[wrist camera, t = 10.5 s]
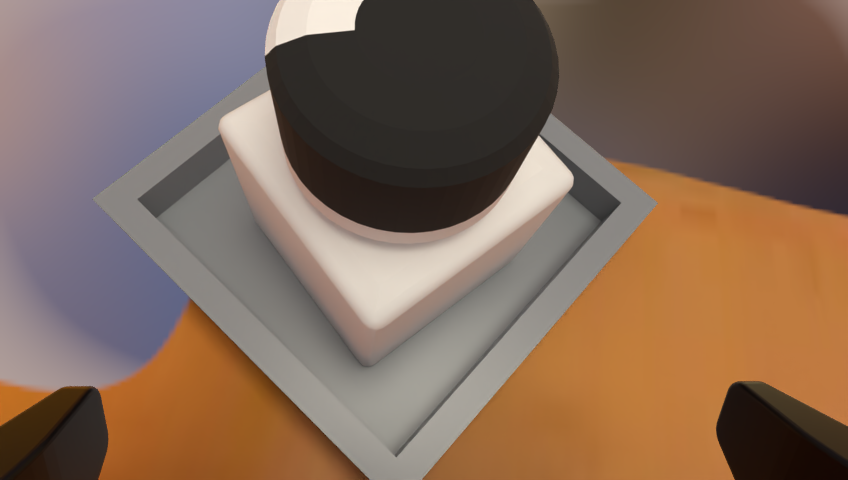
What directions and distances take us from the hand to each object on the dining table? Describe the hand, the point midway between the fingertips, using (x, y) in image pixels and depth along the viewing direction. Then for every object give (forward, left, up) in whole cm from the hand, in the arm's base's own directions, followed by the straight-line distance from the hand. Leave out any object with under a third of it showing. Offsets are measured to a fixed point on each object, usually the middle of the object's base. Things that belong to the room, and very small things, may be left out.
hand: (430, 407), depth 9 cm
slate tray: (+6, +5, -13) cm, 15 cm away
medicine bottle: (+5, +5, -13) cm, 15 cm away
